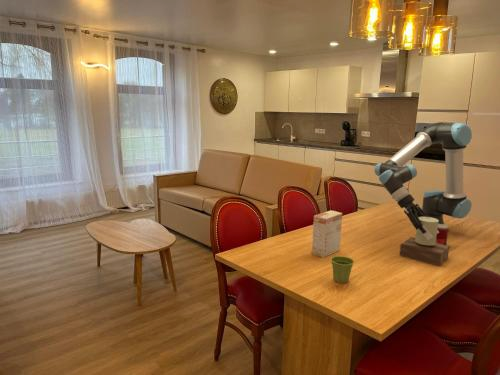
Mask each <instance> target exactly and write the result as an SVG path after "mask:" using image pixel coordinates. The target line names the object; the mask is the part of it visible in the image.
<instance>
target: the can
mask: <svg viewBox="0 0 500 375" xmlns="http://www.w3.org/2000/svg"><path fill="white" fill-rule="evenodd" d="M418 218H419V220H420V222H421V224H422V226H423V225H424V226H425V228H426V229H427V230H428V231H429V233H430V234H431V235H432V236H433V237H432V238H431V239H429V240H427V239H426V238H425V236H424V235H423V234H422V233H421V231H420V230H419V228H418V229H416V231H415V232H416V233H415V237H414V238H415V242H417V243H419V244H422V245H430V246H431V245H435V244H436V236H437V228H438V222H439V220H438V219H435V218H431V217H418Z"/></svg>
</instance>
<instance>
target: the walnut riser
mask: <svg viewBox="0 0 500 375" xmlns="http://www.w3.org/2000/svg"><path fill="white" fill-rule="evenodd" d="M415 238H416V237H412V236H411V237H409V238H408V239H406V240H405V241H403V242H400V248H399V249H400V250H399V256H401V257H404V258H407V259H411V260H414V261H419V262H422V263H427V264H430V265H434V266H436V267H437V266H438V267H440V266H441V265H442V264H444V262H446V260H448V258H449V252H450V245H447V244H446V245H443V244H438V243H436V244H435V245H431V246H430V245H422V244H419V243H417V242H415Z"/></svg>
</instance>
